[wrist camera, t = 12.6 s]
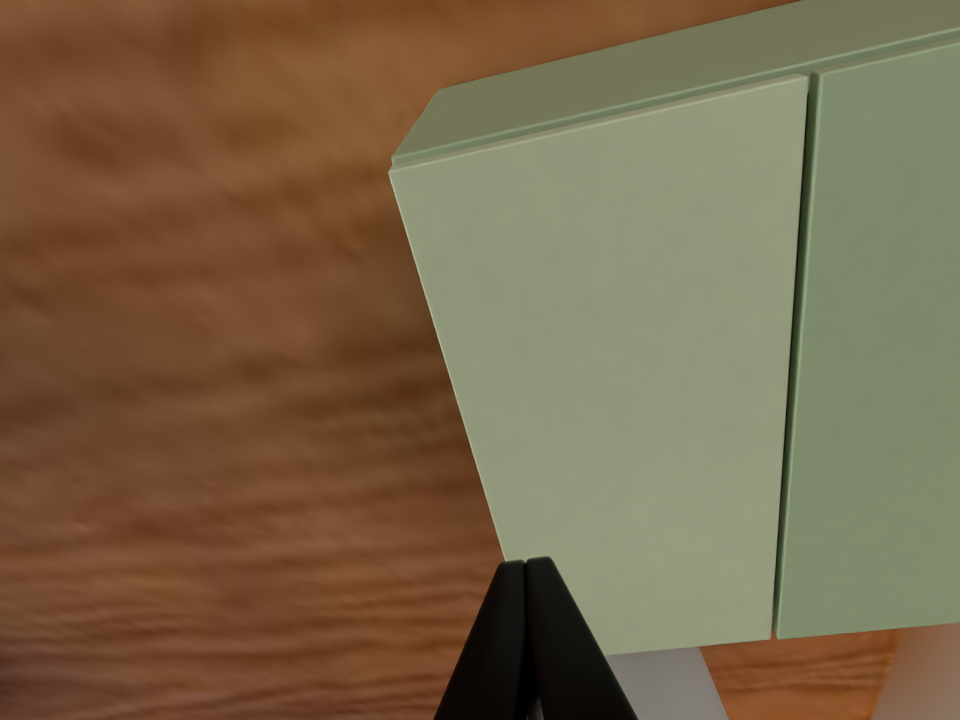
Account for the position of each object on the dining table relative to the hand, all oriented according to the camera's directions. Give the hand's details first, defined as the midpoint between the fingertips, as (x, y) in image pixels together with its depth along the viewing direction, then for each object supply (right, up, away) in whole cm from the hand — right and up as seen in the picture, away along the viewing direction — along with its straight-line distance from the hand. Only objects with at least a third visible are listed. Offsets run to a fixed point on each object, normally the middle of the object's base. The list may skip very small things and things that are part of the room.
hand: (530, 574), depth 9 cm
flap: (+2, +1, +3) cm, 4 cm away
